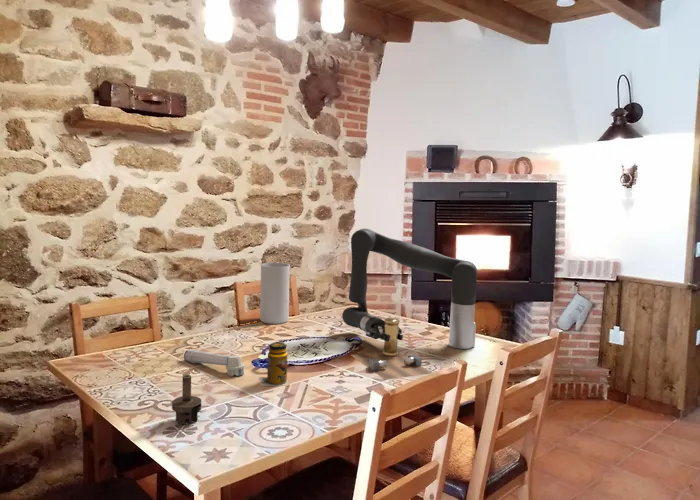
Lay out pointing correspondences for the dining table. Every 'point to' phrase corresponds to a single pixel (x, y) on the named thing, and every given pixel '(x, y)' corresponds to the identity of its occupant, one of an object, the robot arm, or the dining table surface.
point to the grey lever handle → (216, 361)
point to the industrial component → (186, 404)
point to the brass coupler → (391, 337)
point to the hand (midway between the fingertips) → (394, 338)
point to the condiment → (276, 366)
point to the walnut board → (392, 365)
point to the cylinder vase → (274, 293)
